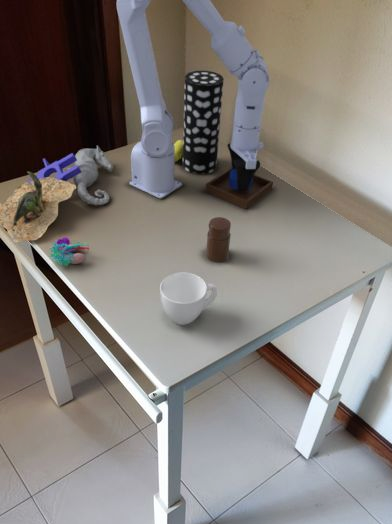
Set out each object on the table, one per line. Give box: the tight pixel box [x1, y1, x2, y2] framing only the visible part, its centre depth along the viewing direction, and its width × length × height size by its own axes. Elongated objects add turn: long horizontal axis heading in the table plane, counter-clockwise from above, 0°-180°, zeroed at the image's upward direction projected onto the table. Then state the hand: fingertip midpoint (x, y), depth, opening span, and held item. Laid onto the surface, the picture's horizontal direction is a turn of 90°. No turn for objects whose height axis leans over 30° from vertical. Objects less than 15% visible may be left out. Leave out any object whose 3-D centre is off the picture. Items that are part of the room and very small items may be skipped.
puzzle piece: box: [26, 152, 81, 182], centre depth 108 cm, size 10×12×2 cm
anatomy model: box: [49, 237, 90, 267], centre depth 93 cm, size 5×8×7 cm
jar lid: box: [229, 169, 253, 190], centre depth 112 cm, size 5×5×3 cm
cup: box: [159, 271, 218, 326], centre depth 84 cm, size 8×10×7 cm
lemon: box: [173, 139, 183, 163], centre depth 122 cm, size 4×8×4 cm
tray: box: [205, 166, 274, 210], centre depth 114 cm, size 11×11×2 cm
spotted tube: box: [182, 69, 225, 175], centre depth 114 cm, size 8×8×20 cm
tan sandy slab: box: [0, 171, 77, 243], centre depth 100 cm, size 18×14×8 cm
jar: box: [205, 216, 232, 263], centre depth 95 cm, size 4×4×7 cm
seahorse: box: [64, 145, 114, 206], centre depth 112 cm, size 5×12×20 cm
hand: (240, 183), depth 113 cm, fingers closed on jar lid, 5 cm apart
